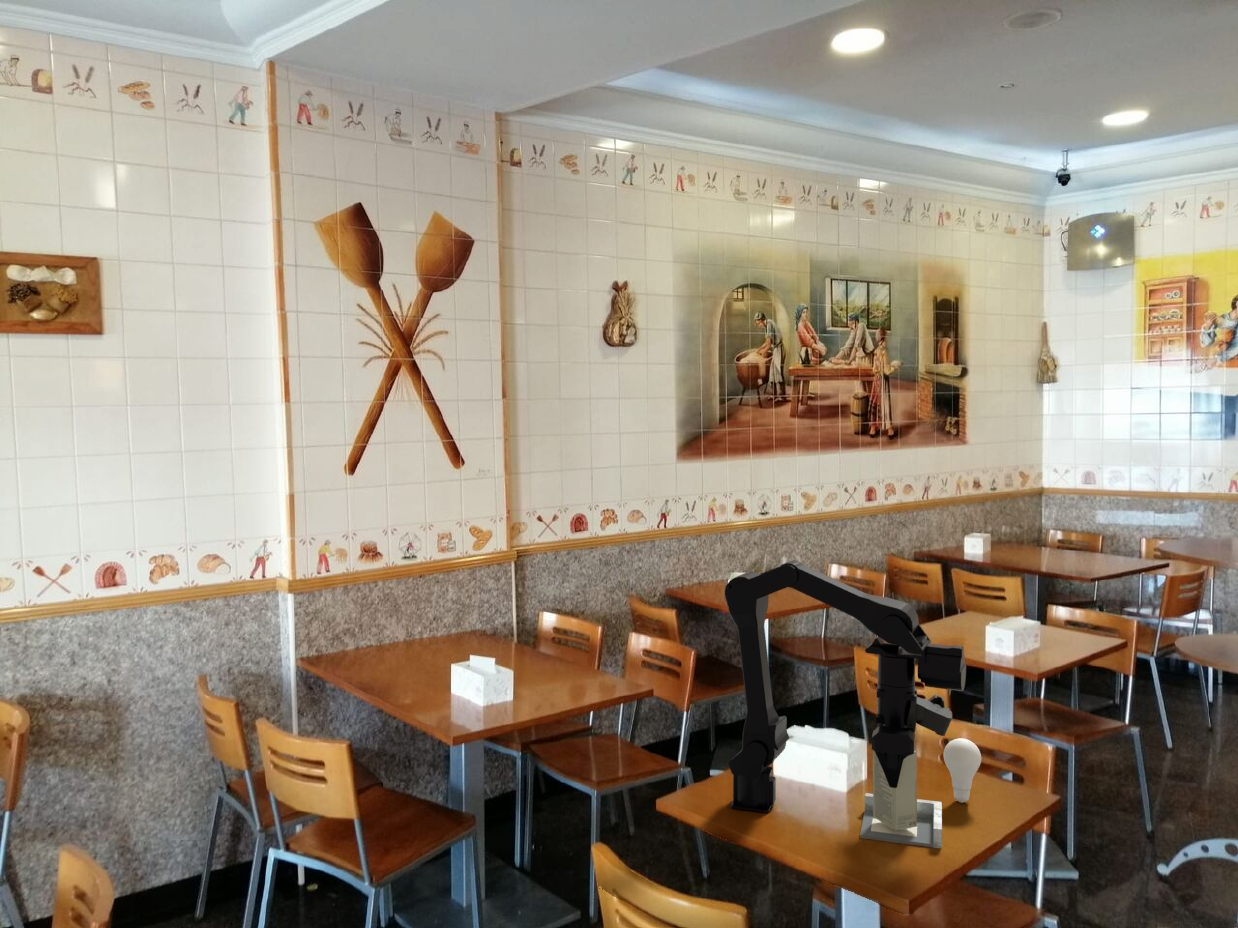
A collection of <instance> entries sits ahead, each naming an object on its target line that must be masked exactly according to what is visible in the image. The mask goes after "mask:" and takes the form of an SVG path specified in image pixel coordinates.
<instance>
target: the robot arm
mask: <svg viewBox="0 0 1238 928" xmlns="http://www.w3.org/2000/svg"><path fill="white" fill-rule="evenodd" d="M786 588H791V589H792V590H795V591H798V592H799V593H801V594H804V595H806V596H808V597H810V598H812V599H814V600H817V601H818V602H820V603H823V604H825V605H828V606H830V607H831V608H834V609H836V610H838V611H840V612H842V613H844V614H846V615H849V616H850V617H853V618H854V619H855V620H856V621H858V622H860V624H861V625H863V626H864V627H865V628H866V629H867V630H869V632H871V633H872V634H873V635H875V636H876V637H875V638H874V640H873V641H872V642H871V644H869V645H868V646H867V647H866V648H865V650H864V652H865V653H866V654H871V655H872V654H873V655H877V689H876V698H877V699H876V700H877V701H876V702H877V703H876V706H877V708H876V715H875V716H876V717H875V724H877V727H876V728H875V729H874V730H873V732H872V736H871V750H872V751H873V750H874V751H875V753H876V755H877V758H878V760H879V762H880V765H881V767H882V769H883V772H884V774H885V777H886V779H887V782H888V784H889V786H890V787H891V788H897V785H898V781H899V777H900V772H901V768H902V764H903V760H904V759H905V758H906V757H908V756H910V755H912V754H914V750H915V743H916V741H915V739H916V735H915V734H914V733H915V731H916V730H917V729H916V726H917V725H919V726H921V727H923V728H925V729H927V730H930V731H932V732H934V734H936V735H938V736H941V737H945V736H946V734H947V731H948V730H949V727H950V725H951V722H952V719H953V712H952V711H951V709H950V708H949V707H946V706H945V698H944V697H943V696H940V695H938V694H936V693H935V694H934V695H933V696H931V697H930V698H929V699H928V698H926V697H925V698H921V697H919V696H918V689H917V688H916V660H917V679H918V680H920V683H921V684H922V683H923V684H924V687H926V688H927V687H928V688H933V689H941V690H948V691H949V690H950V691H957V692H958V691H959V692H964V689H965V686H966V680H967V679H966V677H967V664H966V660H965V659H966V658H965V654H964V649H965V648H964V646H963V645H956V644H953V645H943V644H935V643H932V640H931V639H930V637H929V636H928V634H927V633H926V632H925V630H924V629H923V628H922V626H921V624H920V623H919V615H918V612H917V611H916V609H915V608H914V606H912V605H911V604H909V603H908V602H905V601H901V600H897V599H894V598H891V597H886V596H881V595H880V596H879V595H872V594H870V593H866V592H863V591H862V590H859V589H857V588H855V587H853V586H850V585H848V584H846V583H843V582H841V581H840V580H837V579H836V578H832V577H831V576H828V575H826V574H824V573H822V572H820V571H818V570H815V569H813V568H811V567H809V566H806V565H805V564H803V562H801V561H799V560H795V559H792V560H789V561H787V562H785V563H783V564H781V565H780V566H777V567H775V568H772V569H769V570H766V571H764V572H761V573H759V572H756V571H747V572H744V573H742V574H739V575H737V576H735V577H733V578H732V579H730V580H729V581H728V582H727V584H726V585H725V587H724V598H725V603H726V605H727V609H728V612H729V615H730V618H731V619H732V621H733V623H734V624H735V626H736V628H737V633H738V641H739V650H740V660H741V669H742V676H743V677H742V678H743V686H744V687H743V688H744V695H745V696H744V697H745V704H746V715H745V720H744V724H743V729H742V741H741V744H742V745H741V750H740V751H739V752H738V753H736V755H735V756H733V757H732V759H730V760H729V761H728V765H729V769H730V773H731V774H732V776H733V777H732V802H730V808H731V809H737V810H742V811H750V812H751V811H752V812H760V813H769V812H770V810H771V808H772V807H773V806H774V805H775V802H776V798H777V797H776V794H777V793H776V791H777V789H776V786H777V785H776V784H777V783H776V781H777V779H776V776H774V775H773V767H772V766H771V765H772V764H773V763H774V762H775V760H776V759H777V758H778V757H779V756H780V755H781V754H782V753H783V752H784V750H785V749H786V746H787V741H788V740H790V736H789V733H788V730H787V722H788V720H787V716H786V715H783V716H779V715H778V712H777V711H776V709H775V707H774V703H773V702H774V701H773V691H772V685H771V684H772V683H771V673H770V668H769V666H770V665H769V657H768V647H767V646H768V645H767V639H766V630H765V623H766V617H767V612H768V608H769V598H770V597H769V595H771V594H774V593H776V592H779V591H782V590H784V589H786Z"/></svg>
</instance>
